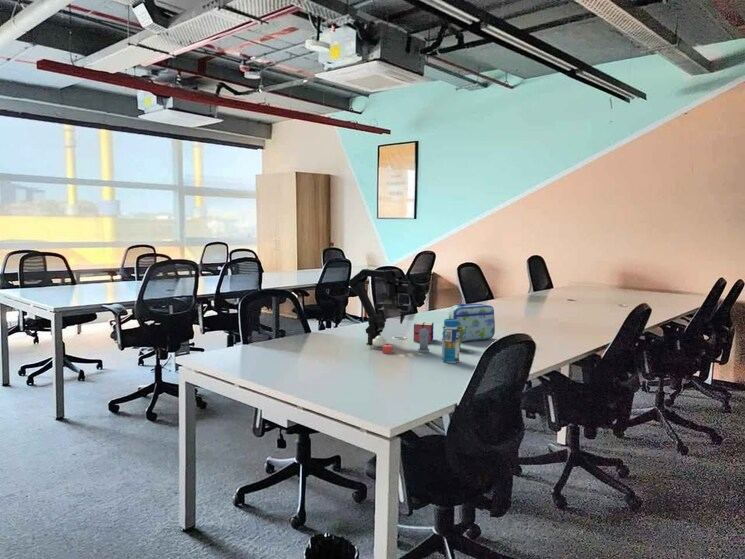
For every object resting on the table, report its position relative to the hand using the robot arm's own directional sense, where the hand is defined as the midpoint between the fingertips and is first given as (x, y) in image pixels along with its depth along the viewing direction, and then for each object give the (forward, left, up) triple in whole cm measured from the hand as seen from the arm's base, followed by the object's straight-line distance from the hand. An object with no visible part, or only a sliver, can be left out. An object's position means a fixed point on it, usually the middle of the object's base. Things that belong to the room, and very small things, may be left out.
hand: (393, 322), depth 286 cm
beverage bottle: (+37, -15, -13) cm, 42 cm away
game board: (+18, -13, -13) cm, 26 cm away
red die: (+5, -17, -13) cm, 22 cm away
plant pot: (+29, +13, -13) cm, 34 cm away
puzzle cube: (+8, +24, -13) cm, 29 cm away
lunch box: (+31, +39, -13) cm, 52 cm away
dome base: (-3, -10, -13) cm, 17 cm away
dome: (-3, -10, -10) cm, 15 cm away
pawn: (+21, -8, -12) cm, 25 cm away
